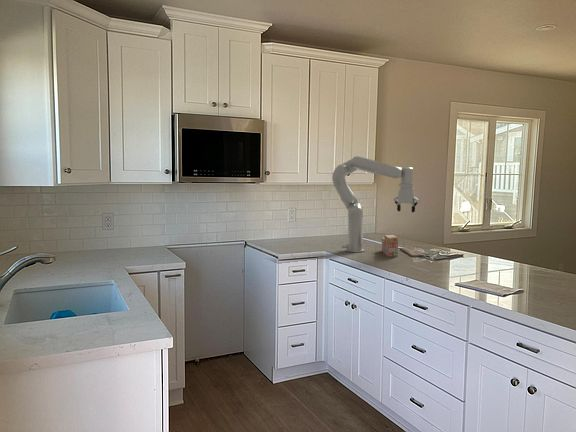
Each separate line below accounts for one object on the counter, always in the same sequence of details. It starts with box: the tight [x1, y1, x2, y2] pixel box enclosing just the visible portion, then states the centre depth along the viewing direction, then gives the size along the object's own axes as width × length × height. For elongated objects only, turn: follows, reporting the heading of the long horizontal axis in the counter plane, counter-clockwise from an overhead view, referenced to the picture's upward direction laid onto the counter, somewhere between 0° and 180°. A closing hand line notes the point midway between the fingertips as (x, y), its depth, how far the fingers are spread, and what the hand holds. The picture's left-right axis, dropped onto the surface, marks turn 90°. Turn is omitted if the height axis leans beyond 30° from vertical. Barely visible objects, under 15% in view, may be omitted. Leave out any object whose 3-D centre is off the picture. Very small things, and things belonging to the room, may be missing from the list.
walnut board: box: [400, 246, 425, 258], centre depth 304 cm, size 12×27×1 cm, turn 2°
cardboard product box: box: [381, 234, 399, 258], centre depth 303 cm, size 21×6×12 cm, turn 0°
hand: (405, 211), depth 308 cm, fingers open, 9 cm apart
